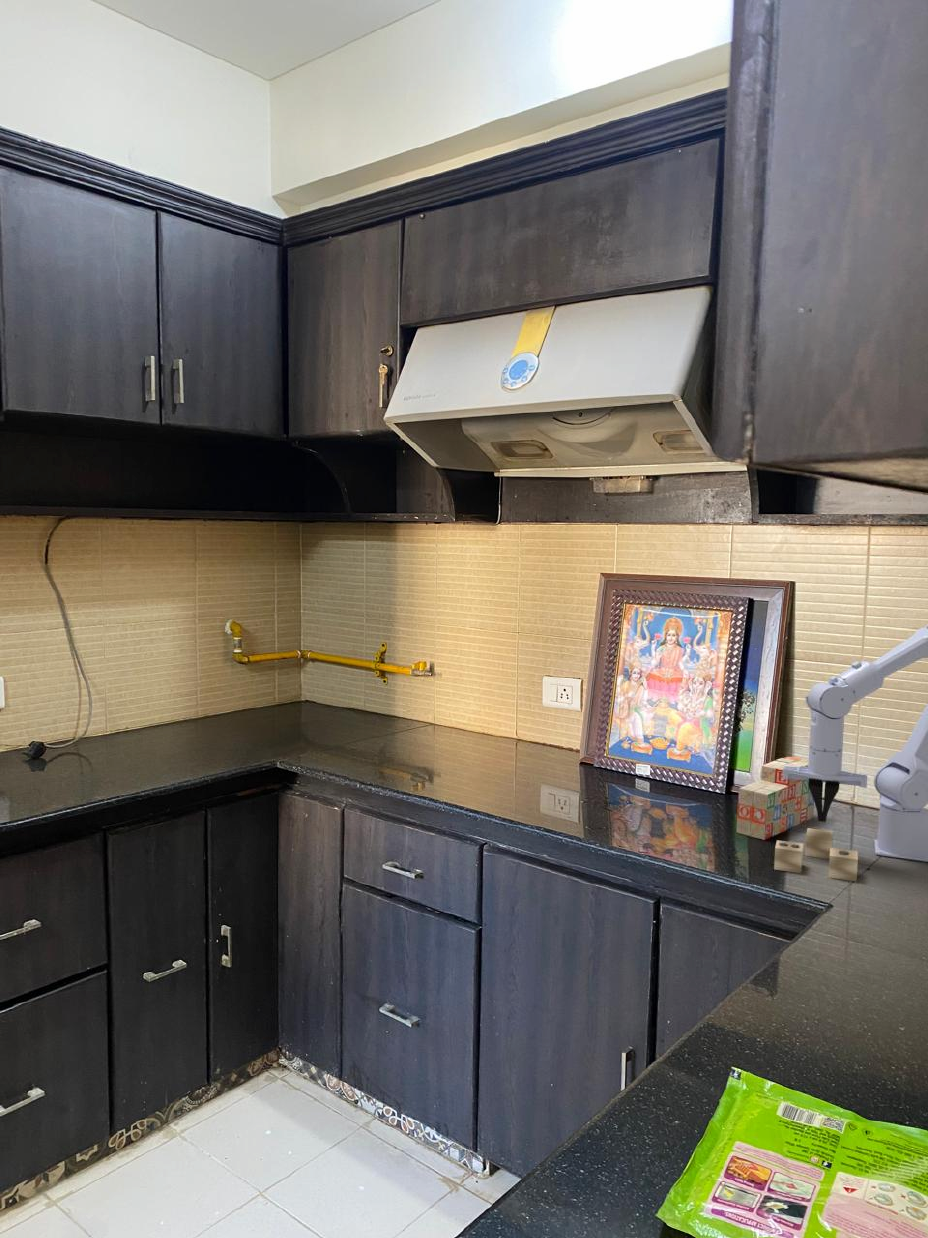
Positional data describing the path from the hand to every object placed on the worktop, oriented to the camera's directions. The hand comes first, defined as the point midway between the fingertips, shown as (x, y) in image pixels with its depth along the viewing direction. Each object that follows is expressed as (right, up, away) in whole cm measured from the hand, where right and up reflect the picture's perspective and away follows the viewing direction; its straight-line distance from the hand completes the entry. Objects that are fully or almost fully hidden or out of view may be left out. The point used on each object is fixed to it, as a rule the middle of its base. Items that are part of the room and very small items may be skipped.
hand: (821, 820), depth 172 cm
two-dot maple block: (-9, -7, -7) cm, 13 cm away
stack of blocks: (-3, -5, +17) cm, 18 cm away
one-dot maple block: (0, -8, -10) cm, 13 cm away
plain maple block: (0, -6, +1) cm, 7 cm away
